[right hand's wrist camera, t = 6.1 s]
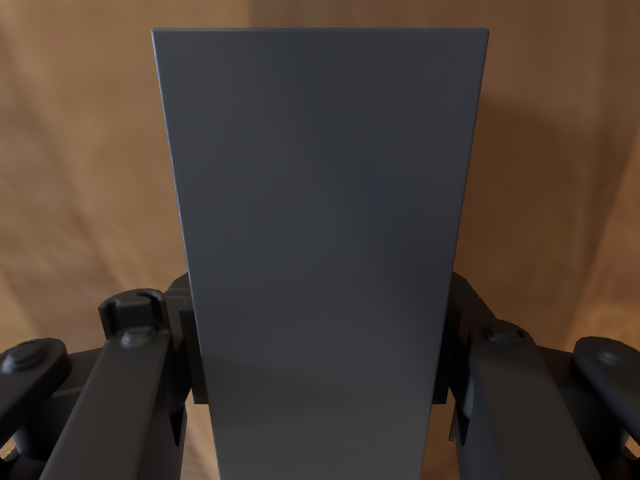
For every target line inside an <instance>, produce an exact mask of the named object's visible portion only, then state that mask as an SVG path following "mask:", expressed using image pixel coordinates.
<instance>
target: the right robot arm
mask: <svg viewBox="0 0 640 480" xmlns="http://www.w3.org/2000/svg"><path fill="white" fill-rule="evenodd" d="M98 310H99V314H100V317H101V321H102V325H103V328H104V332H105V336H106V339H107V340H106V343H105V345H104V347H102V348H98V349H93V350H88V351H83V352H78V353H73V354H68V352H67V349H66V346H65V343H63V342H62V341H61V340H59V339H54V338H43V339H34V340H30V341H26V342H23V343H20V344H18V345H17V346H15V347H12V348H10V349H8V350H6V351H4V352H3V353H1V354H0V449H1V448H2V447H3V446H4V445H5V443H6V442H7V441H8V440H9V439H10V438H11V437H12V439H13V441H14V444H15V446H16V447H15V448H14V449H13V450H12V452H11V453H10V454H9V455H8V456H6V457H5V458H4V459H2V458H1V457H0V480H180V474H181V466H182V457H183V449H184V441H185V432H186V424H187V413H186V407H185V401H186V398H187V396H188V394H189V392H190V389H191V387H192V393H193V399H194V404H208V398H207V391H206V385H205V378H204V372H203V365H202V359H201V352H200V346H199V340H198V333H197V327H196V320H195V314H194V307H193V301H192V294H191V288H190V281H189V275H188V272H187V273H186V274H184V275H182V276H181V277H179V278H178V279H176V280H175V281H174V282H173V283H172V285H171V286H170V287H169V288H168V291H166V292H165V293H164V294H163V293H162V292H161V291H159V290H155V289H151V288H147V289H135V290H129V291H125V292H122V293H120V294H117V295H114V296H112V297H111V298H109V299H107V300H105V301H104V302H103V303H102V304H101V305H100V306H99V307H98ZM449 387H450V389H451V392H452V394H453V396H454V398H455V401H456V402H455V407H454V412H453V418H452V423H451V428H450V434H449V441H452V442H453V441H454V436H455V440H456V448H457V456H458V465H459V473H460V480H640V457H639V458H637V457H636V456H635V455H634V454H633V453H631V451H630V450H629V449H628V448H627V447H626V446H625V444H626V442H627V440H628V438H629V435H630V436H631V437H632V438H633V439H634V440H635V441H636V443H637V444H638V445H639V446H640V352H639V351H638V350H636V349H635V348H632V347H630V346H628V345H626V344H624V343H622V342H620V341H617V340H612V339H610V338H604V337H594V336H590V337H583V338H581V339H579V340H578V341H577V342H576V344H575V347H574V350H573V353H570V352H565V351H560V350H555V349H550V348H545V347H541V346H537V345H536V344H535V342H534V340H533V339H532V337H531V336H530V335H529V334H528V332H526V331H525V330H523V329H522V328H520V327H519V326H517V325H514V324H512V323H510V322H507V321H503V320H499V319H497V318H496V317H495V316H494V314H493V313H492V312H491V310H490V309H489V308H488V307H487V305H486V304H485V303H484V302H483V300H482V299H481V298H480V297H479V295H478V294H477V293H476V292H475V290H473V288H472V287H471V285H470V284H469V283H468V281H467V280H466V279H465V278H463V277H462V276H460V275H458V274H457V273H455V272H453V271H452V277H451V284H450V290H449V297H448V303H447V310H446V316H445V322H444V329H443V335H442V342H441V348H440V355H439V361H438V368H437V374H436V381H435V387H434V393H433V400H432V404H446V400H447V394H448V389H449Z"/></svg>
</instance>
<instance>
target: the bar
mask: <svg viewBox="0 0 640 480" xmlns="http://www.w3.org/2000/svg"><path fill="white" fill-rule="evenodd" d="M151 35H152V42H153V48H154V55H155V61H156V68H157V74H158V81H159V87H160V94H161V100H162V107H163V113H164V119H165V126H166V132H167V139H168V145H169V152H170V158H171V165H172V171H173V178H174V184H175V191H176V197H177V204H178V210H179V217H180V223H181V230H182V236H183V242H184V249H185V255H186V262H187V268H188V275H189V281H190V288H191V294H192V301H193V307H194V314H195V320H196V327H197V333H198V340H199V346H200V352H201V359H202V365H203V372H204V378H205V385H206V391H207V398H208V404H209V411H210V417H211V424H212V430H213V437H214V443H215V450H216V456H217V462H218V469H219V475H220V480H420V477H421V471H422V464H423V458H424V452H425V445H426V439H427V432H428V426H429V419H430V413H431V406H432V400H433V393H434V387H435V381H436V374H437V368H438V361H439V355H440V348H441V342H442V335H443V329H444V322H445V316H446V310H447V303H448V297H449V290H450V284H451V277H452V271H453V264H454V258H455V251H456V245H457V238H458V232H459V226H460V219H461V213H462V206H463V200H464V193H465V187H466V180H467V174H468V167H469V161H470V155H471V148H472V142H473V135H474V129H475V122H476V116H477V109H478V103H479V96H480V90H481V84H482V77H483V71H484V64H485V58H486V51H487V45H488V38H489V30H488V29H486V28H154V29H152V30H151Z"/></svg>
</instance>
